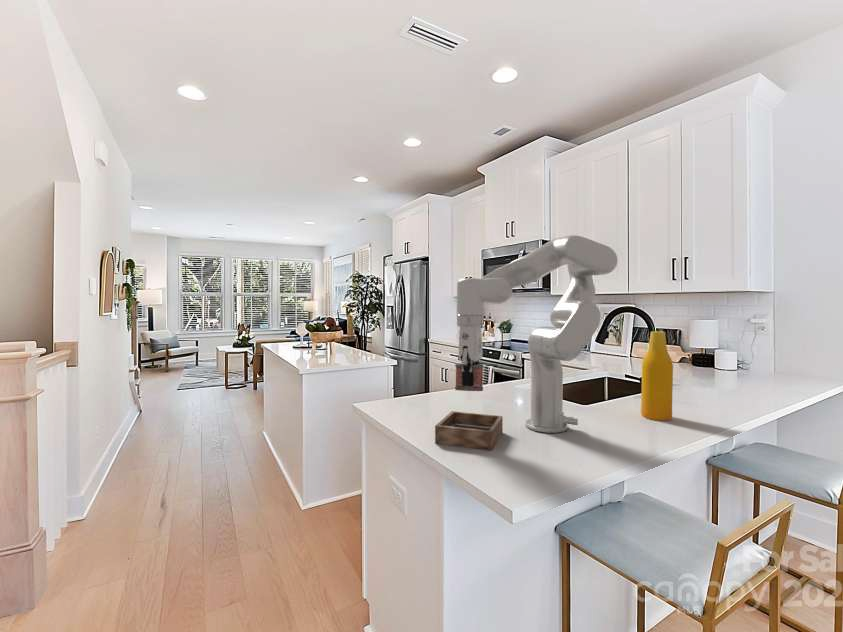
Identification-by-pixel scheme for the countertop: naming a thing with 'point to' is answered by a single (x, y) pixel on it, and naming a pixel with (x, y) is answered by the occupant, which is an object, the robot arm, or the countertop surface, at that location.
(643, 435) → the countertop surface
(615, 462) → the countertop surface
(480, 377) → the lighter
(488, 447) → the walnut box
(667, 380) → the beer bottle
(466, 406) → the countertop surface
